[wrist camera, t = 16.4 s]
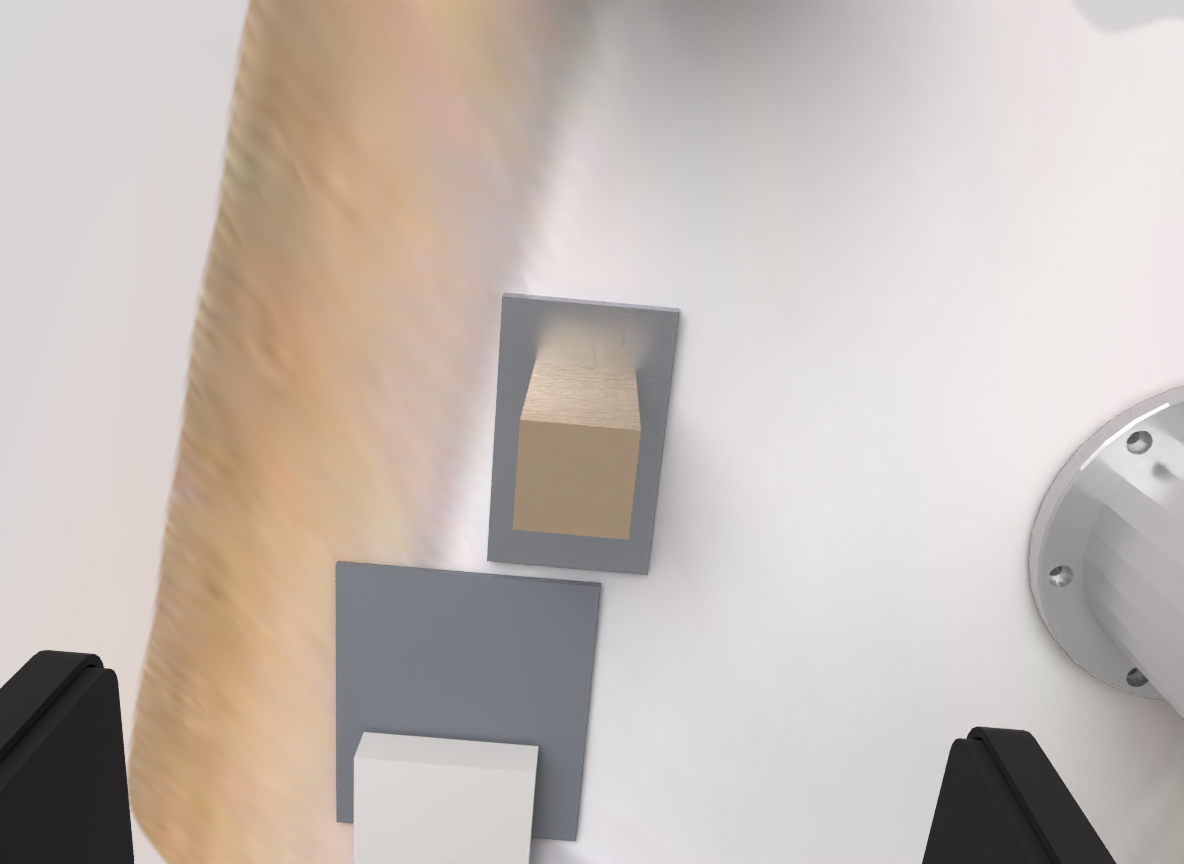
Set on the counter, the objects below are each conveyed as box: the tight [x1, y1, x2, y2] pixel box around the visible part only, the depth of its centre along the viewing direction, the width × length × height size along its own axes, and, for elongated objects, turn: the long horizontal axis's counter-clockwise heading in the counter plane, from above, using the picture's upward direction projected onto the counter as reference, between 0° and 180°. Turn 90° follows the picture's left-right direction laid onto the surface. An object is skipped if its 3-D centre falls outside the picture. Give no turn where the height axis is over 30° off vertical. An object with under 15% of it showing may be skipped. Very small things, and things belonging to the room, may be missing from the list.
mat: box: [336, 561, 600, 841], centre depth 39 cm, size 10×12×1 cm
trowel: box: [487, 293, 679, 575], centre depth 32 cm, size 10×6×7 cm, turn 175°
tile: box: [354, 732, 539, 864], centre depth 40 cm, size 2×7×8 cm
